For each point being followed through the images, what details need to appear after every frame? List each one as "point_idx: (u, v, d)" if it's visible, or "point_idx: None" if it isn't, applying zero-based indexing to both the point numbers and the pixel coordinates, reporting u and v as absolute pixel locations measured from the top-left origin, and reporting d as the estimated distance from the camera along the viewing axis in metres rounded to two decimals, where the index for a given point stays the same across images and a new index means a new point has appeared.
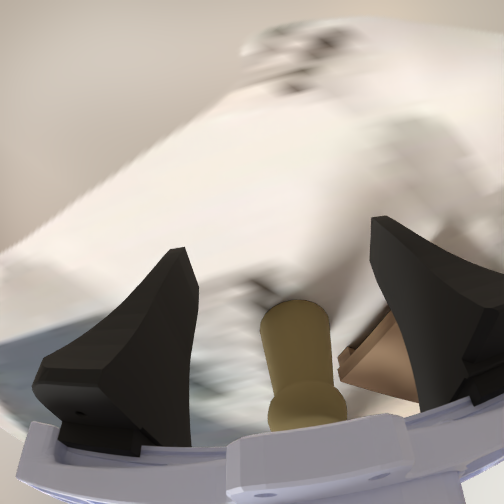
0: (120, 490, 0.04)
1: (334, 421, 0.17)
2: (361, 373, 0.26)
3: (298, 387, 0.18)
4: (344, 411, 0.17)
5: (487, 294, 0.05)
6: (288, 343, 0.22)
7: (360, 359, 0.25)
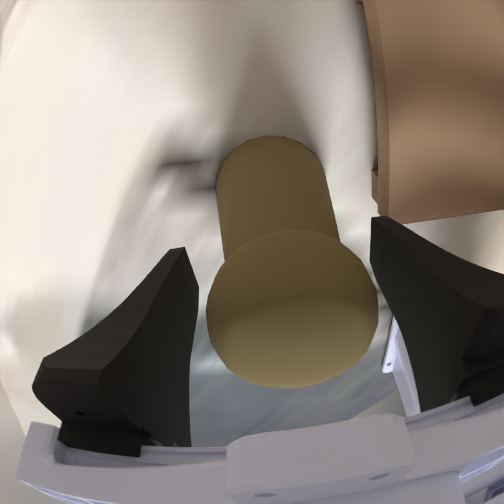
0: (120, 490, 0.04)
1: (318, 305, 0.07)
2: (410, 195, 0.14)
3: (222, 267, 0.09)
4: (339, 270, 0.08)
5: (487, 294, 0.05)
6: (225, 208, 0.13)
7: (388, 172, 0.14)
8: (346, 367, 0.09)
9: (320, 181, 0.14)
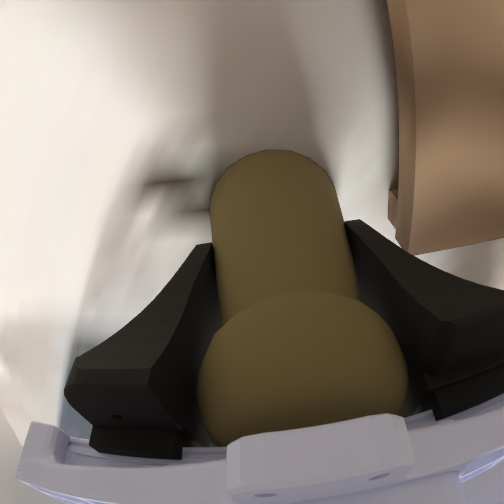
0: (120, 490, 0.04)
1: (340, 406, 0.05)
2: (434, 221, 0.12)
3: (215, 339, 0.07)
4: (369, 358, 0.05)
5: (450, 305, 0.05)
6: (220, 244, 0.11)
7: (412, 196, 0.11)
8: None
9: (334, 208, 0.11)
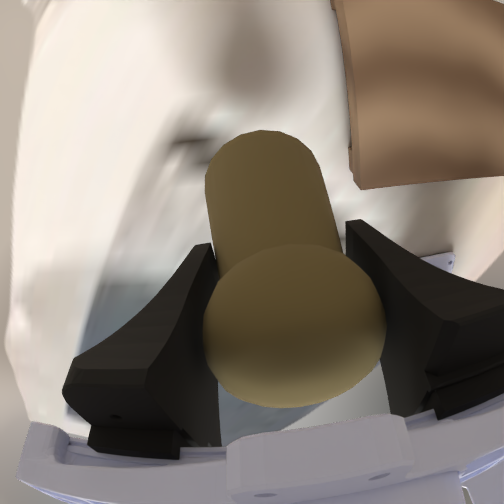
0: (120, 490, 0.04)
1: (330, 334, 0.07)
2: (378, 163, 0.17)
3: (220, 283, 0.08)
4: (352, 294, 0.07)
5: (451, 304, 0.05)
6: (218, 211, 0.12)
7: (358, 144, 0.17)
8: (350, 387, 0.08)
9: (319, 182, 0.13)
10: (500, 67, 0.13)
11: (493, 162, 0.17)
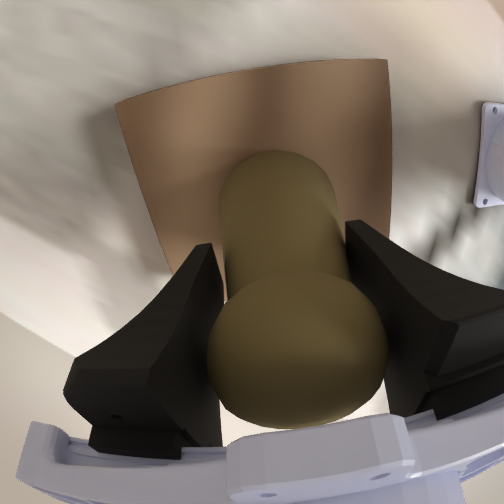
0: (120, 490, 0.04)
1: (331, 362, 0.07)
2: None
3: (227, 305, 0.08)
4: (356, 325, 0.07)
5: (450, 304, 0.05)
6: (230, 230, 0.12)
7: None
8: (348, 413, 0.08)
9: (333, 207, 0.13)
10: (222, 115, 0.14)
11: (370, 103, 0.13)
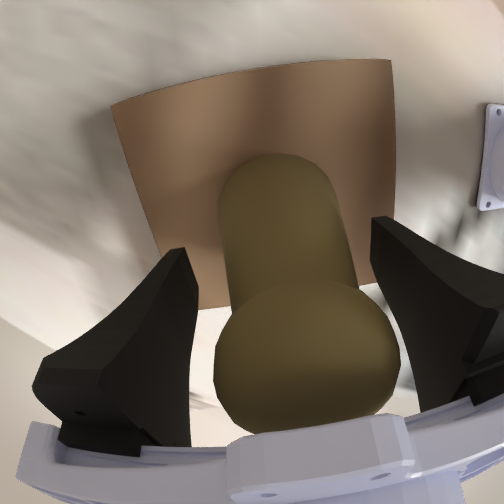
0: (120, 490, 0.04)
1: (346, 375, 0.06)
2: (365, 269, 0.18)
3: (235, 317, 0.08)
4: (371, 335, 0.07)
5: (487, 294, 0.05)
6: (233, 236, 0.12)
7: None
8: None
9: (336, 211, 0.12)
10: (221, 117, 0.13)
11: (373, 105, 0.13)
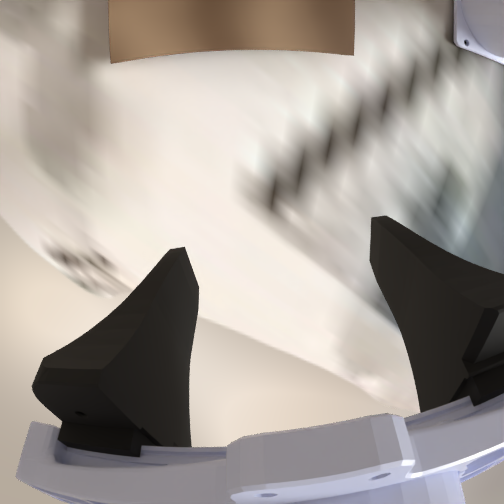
0: (120, 490, 0.04)
1: None
2: (325, 31, 0.13)
3: None
4: None
5: (487, 294, 0.05)
6: None
7: (300, 50, 0.14)
8: None
9: None
10: None
11: None
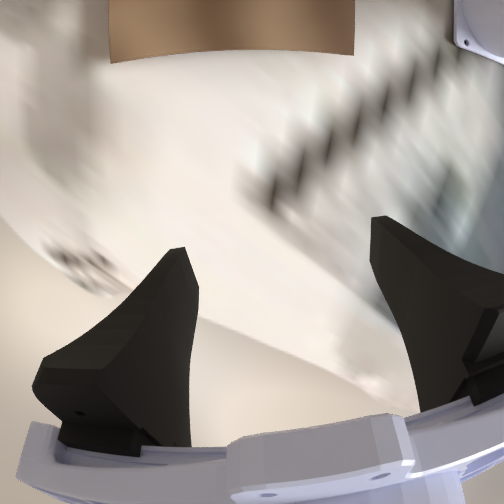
0: (120, 490, 0.04)
1: None
2: (325, 31, 0.13)
3: None
4: None
5: (487, 294, 0.05)
6: None
7: (300, 50, 0.14)
8: None
9: None
10: None
11: None
